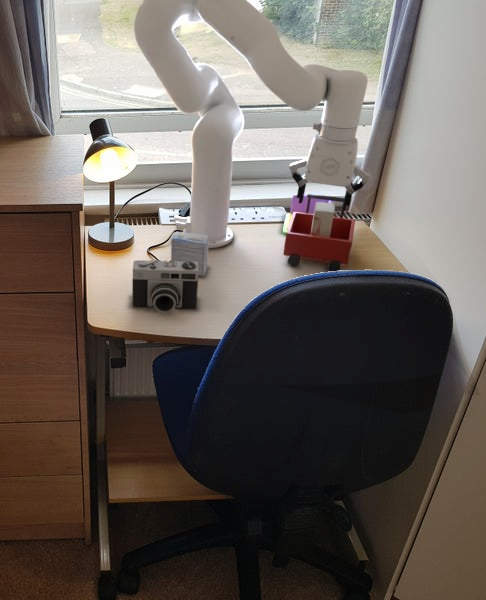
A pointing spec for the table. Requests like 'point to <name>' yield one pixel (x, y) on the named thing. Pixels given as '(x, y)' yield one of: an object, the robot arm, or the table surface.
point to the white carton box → (322, 219)
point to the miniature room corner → (300, 208)
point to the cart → (319, 238)
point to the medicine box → (190, 249)
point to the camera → (165, 285)
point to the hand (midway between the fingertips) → (322, 204)
